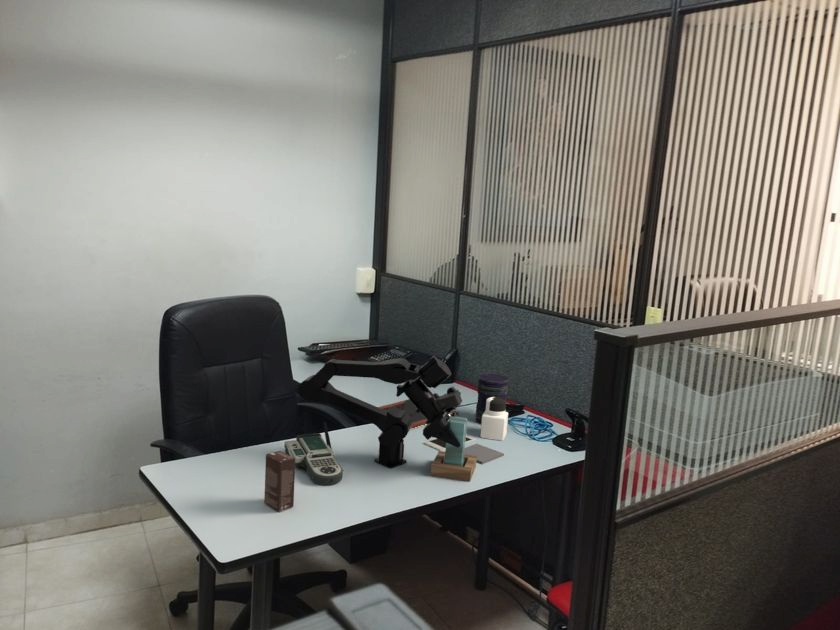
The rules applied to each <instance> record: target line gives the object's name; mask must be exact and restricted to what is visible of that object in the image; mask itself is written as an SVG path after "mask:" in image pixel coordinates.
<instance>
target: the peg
mask: <svg viewBox="0 0 840 630" xmlns="http://www.w3.org/2000/svg"><path fill="white" fill-rule="evenodd" d="M449 421H451V423H450V428H451V430H452V432H453V433H454V435H455V436H456V438H457V439H458V441H459V443H460V444H461V446H460V447H458V448H457V447H455V446H453V445H451V444H449V443H446V450H444V452H445V464H449V465H456V466H463V465H464V456H465V448H466V443H465V441H466V435H467V425H468V418H466V417H459V416H455V417H453V416H450V418H449V420H448V421H447V422H449Z"/></svg>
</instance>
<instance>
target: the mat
mask: <svg viewBox="0 0 840 630" xmlns="http://www.w3.org/2000/svg"><path fill="white" fill-rule="evenodd" d="M465 455H472V456H477V460H476V463H479V464H481V465H483V464H486V463H489V462H492V461H494V460H496V459H499V458H501V457H503V456H505V453H504V452H501V451H497V450H495V449H493V448H489V447H488V446H485V445H482V444H479V443H475V444H472V445H469V446H467V447H466V446H465Z"/></svg>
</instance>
